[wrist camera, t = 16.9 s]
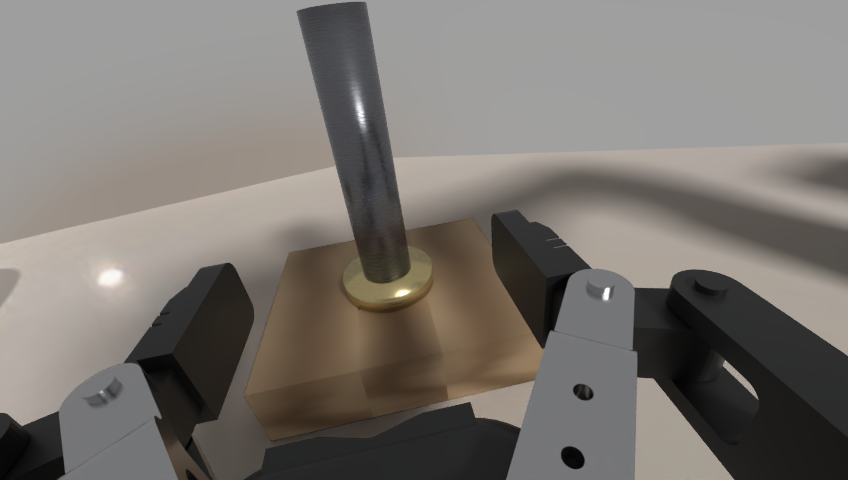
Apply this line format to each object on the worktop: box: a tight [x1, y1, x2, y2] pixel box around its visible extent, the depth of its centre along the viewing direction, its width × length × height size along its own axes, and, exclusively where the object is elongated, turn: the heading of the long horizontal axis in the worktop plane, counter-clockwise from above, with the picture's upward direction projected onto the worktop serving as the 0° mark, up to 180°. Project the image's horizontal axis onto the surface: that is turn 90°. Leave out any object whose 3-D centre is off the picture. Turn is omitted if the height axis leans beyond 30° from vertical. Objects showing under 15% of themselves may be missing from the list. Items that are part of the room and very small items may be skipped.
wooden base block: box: [244, 218, 545, 441], centre depth 25 cm, size 16×14×4 cm
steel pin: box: [297, 2, 434, 313], centre depth 21 cm, size 6×6×20 cm
